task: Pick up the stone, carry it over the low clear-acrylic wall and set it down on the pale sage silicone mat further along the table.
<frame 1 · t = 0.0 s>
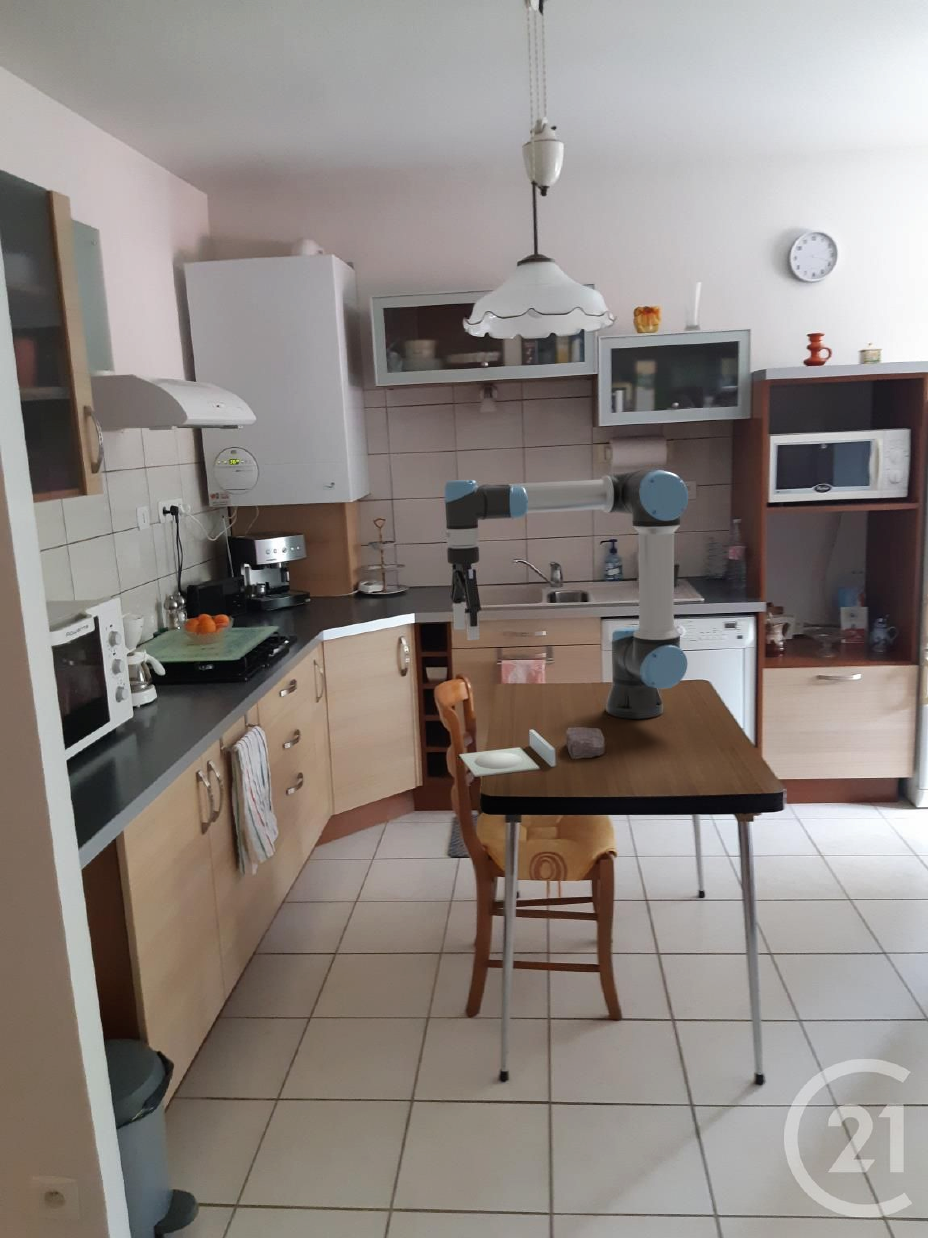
hand: (466, 634, 222), 28 cm above the table, fingers open, 13 cm apart
rest mat: (498, 762, 214), on the table
acrylic wall: (542, 755, 218), on the table
stone: (585, 752, 220), on the table
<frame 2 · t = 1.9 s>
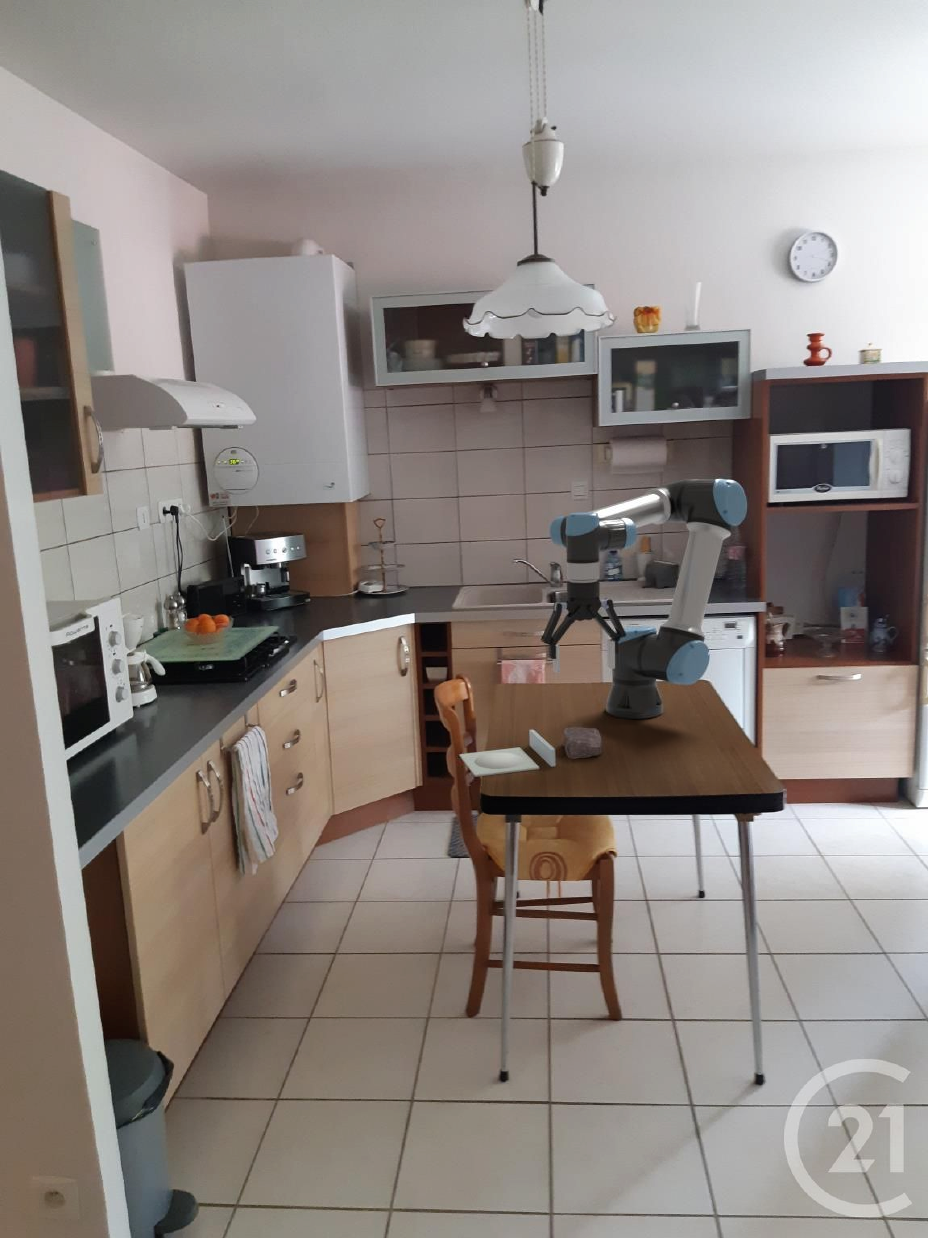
hand: (584, 670, 217), 20 cm above the table, fingers open, 13 cm apart
nothing on the table moved.
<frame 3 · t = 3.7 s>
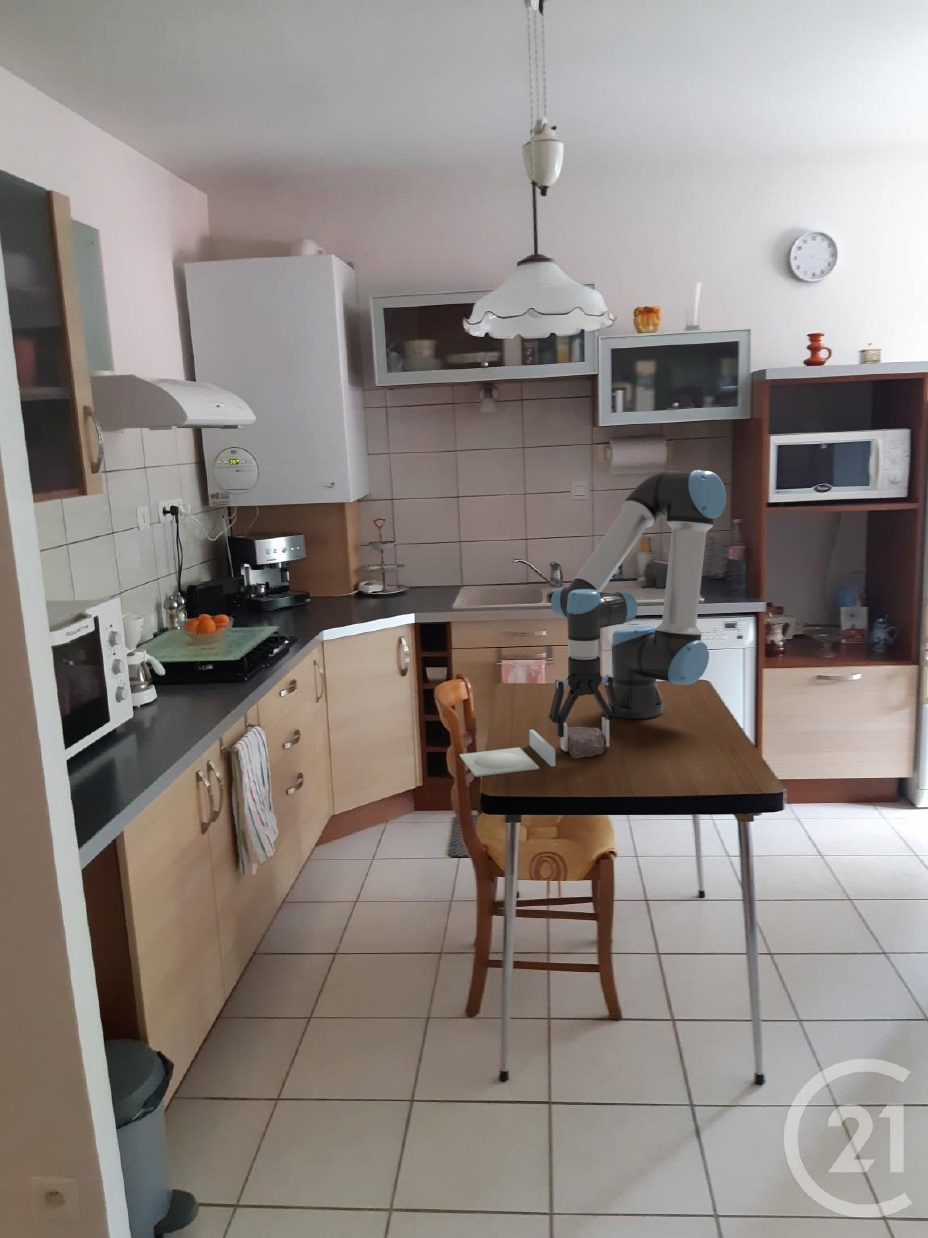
hand: (585, 747, 220), 1 cm above the table, fingers open, 10 cm apart
stone: (585, 751, 221), on the table, touching gripper
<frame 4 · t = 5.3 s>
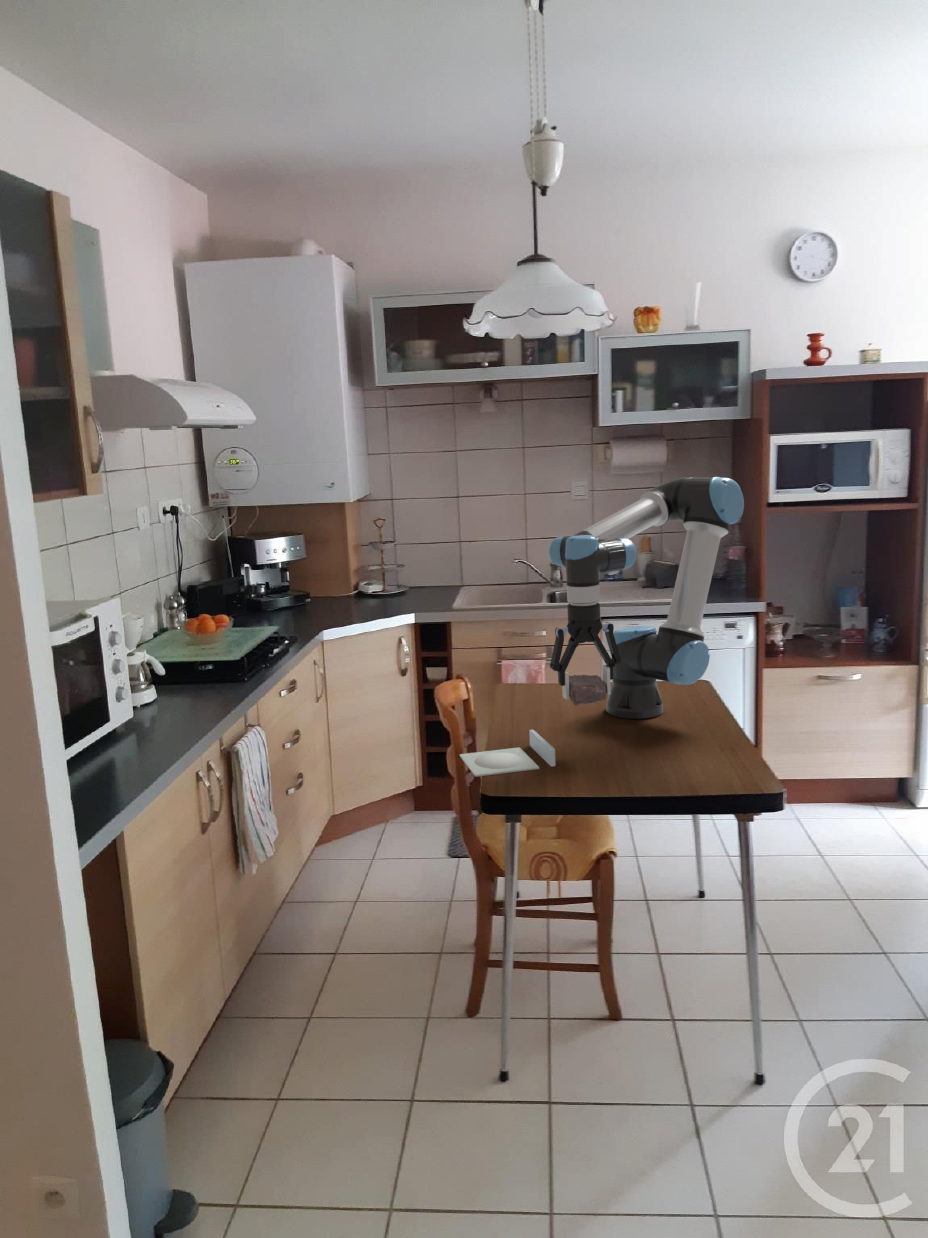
hand: (586, 695, 218), 13 cm above the table, fingers closed on stone, 9 cm apart
stone: (586, 698, 219), point 12 cm above the table, touching gripper
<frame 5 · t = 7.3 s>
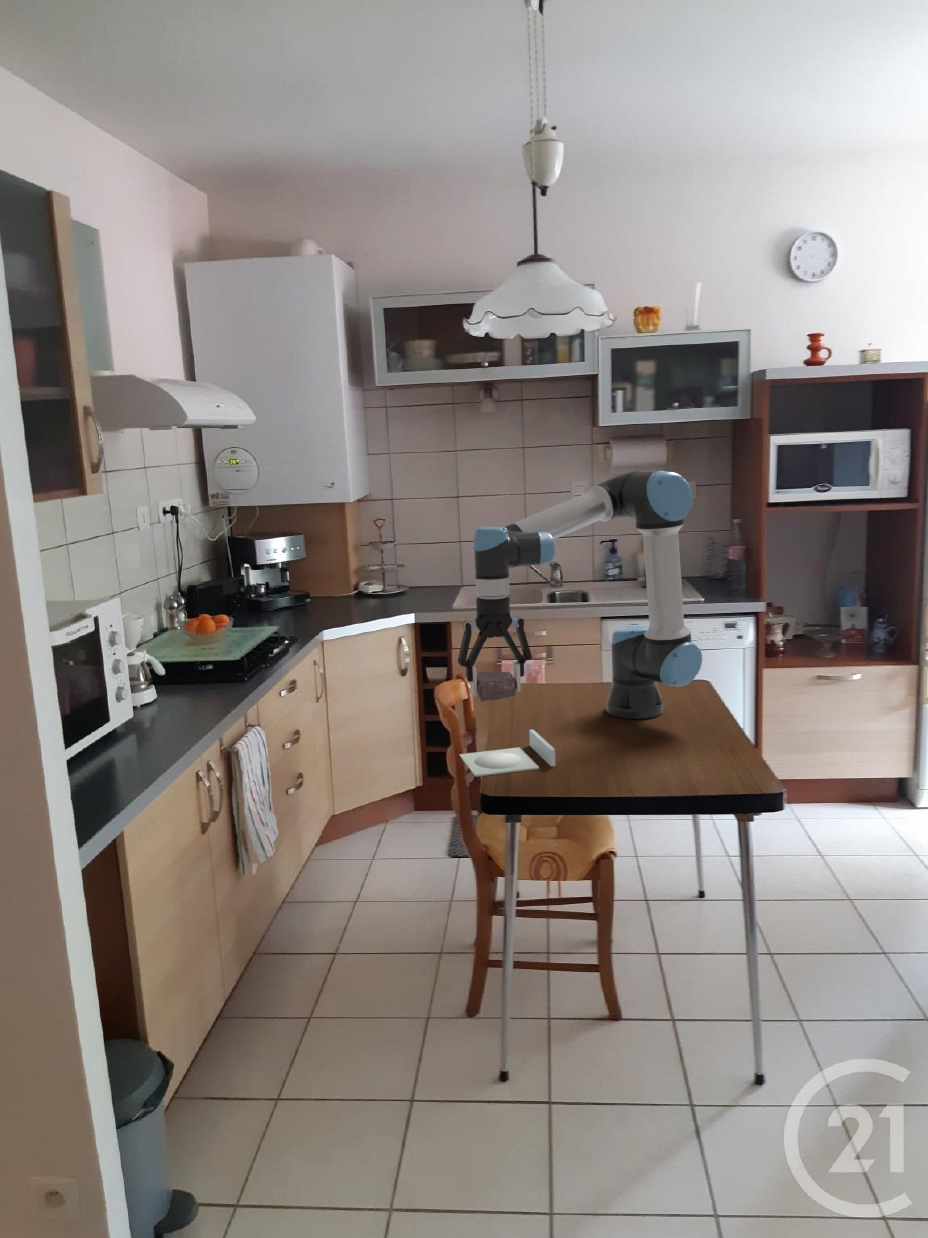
hand: (496, 692, 211), 17 cm above the table, fingers closed on stone, 9 cm apart
stone: (496, 695, 212), point 16 cm above the table, touching gripper
when the fingers open (3 cm above the table, at t = 10.2 s): stone drops 2 cm, resting on rest mat.
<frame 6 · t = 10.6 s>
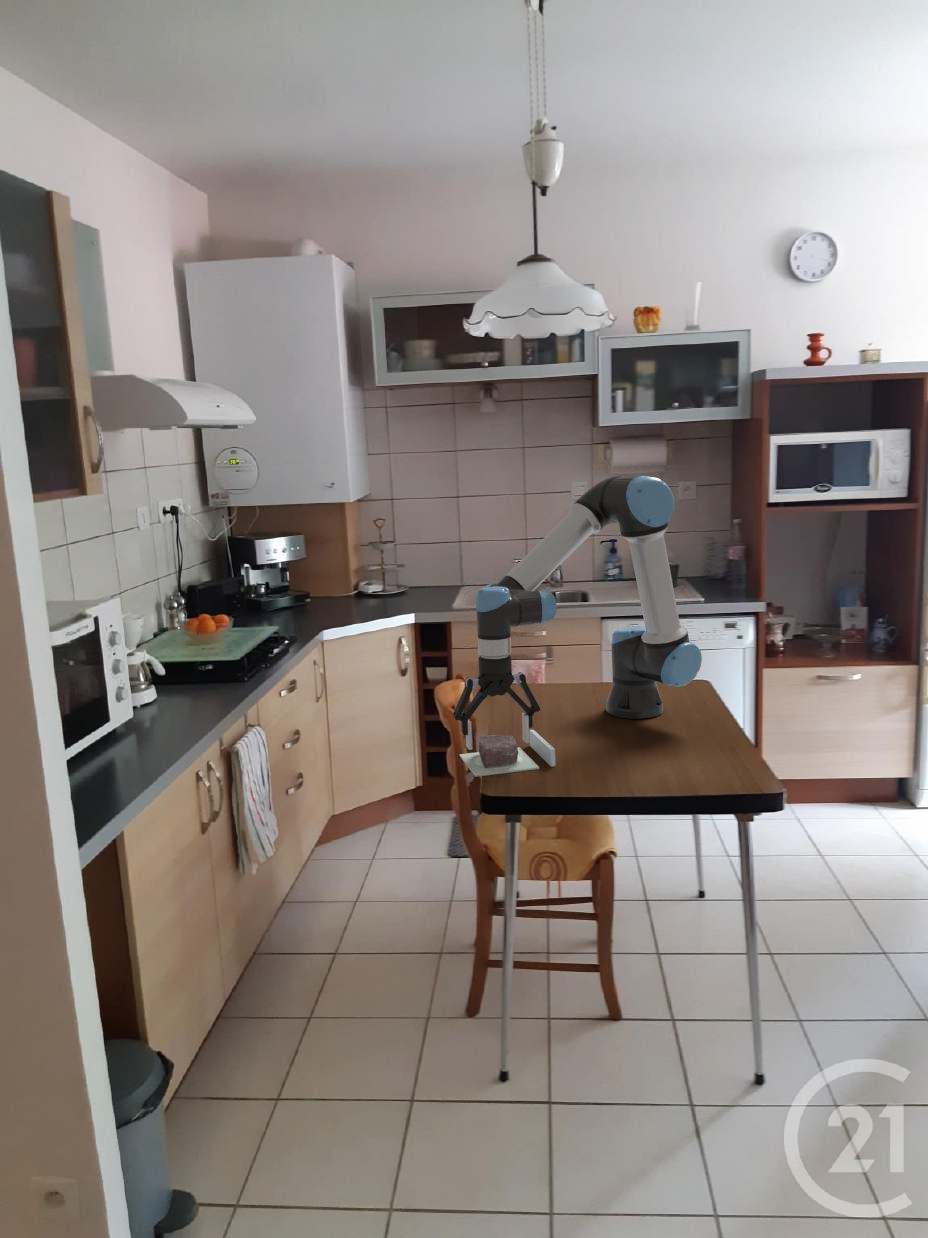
hand: (497, 745, 214), 4 cm above the table, fingers open, 13 cm apart
stone: (498, 760, 215), resting on rest mat
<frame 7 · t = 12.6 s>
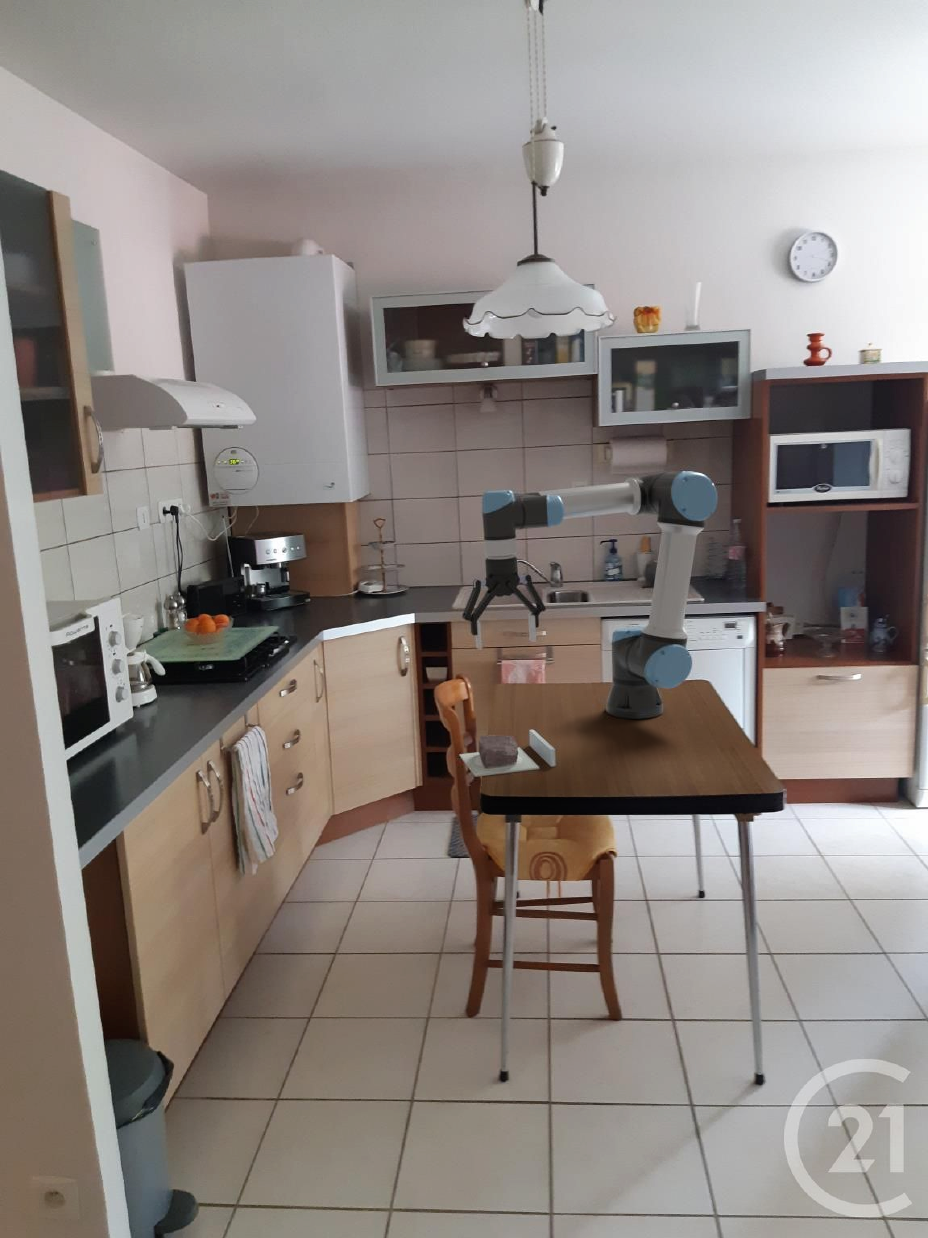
hand: (506, 644, 221), 25 cm above the table, fingers open, 13 cm apart
nothing on the table moved.
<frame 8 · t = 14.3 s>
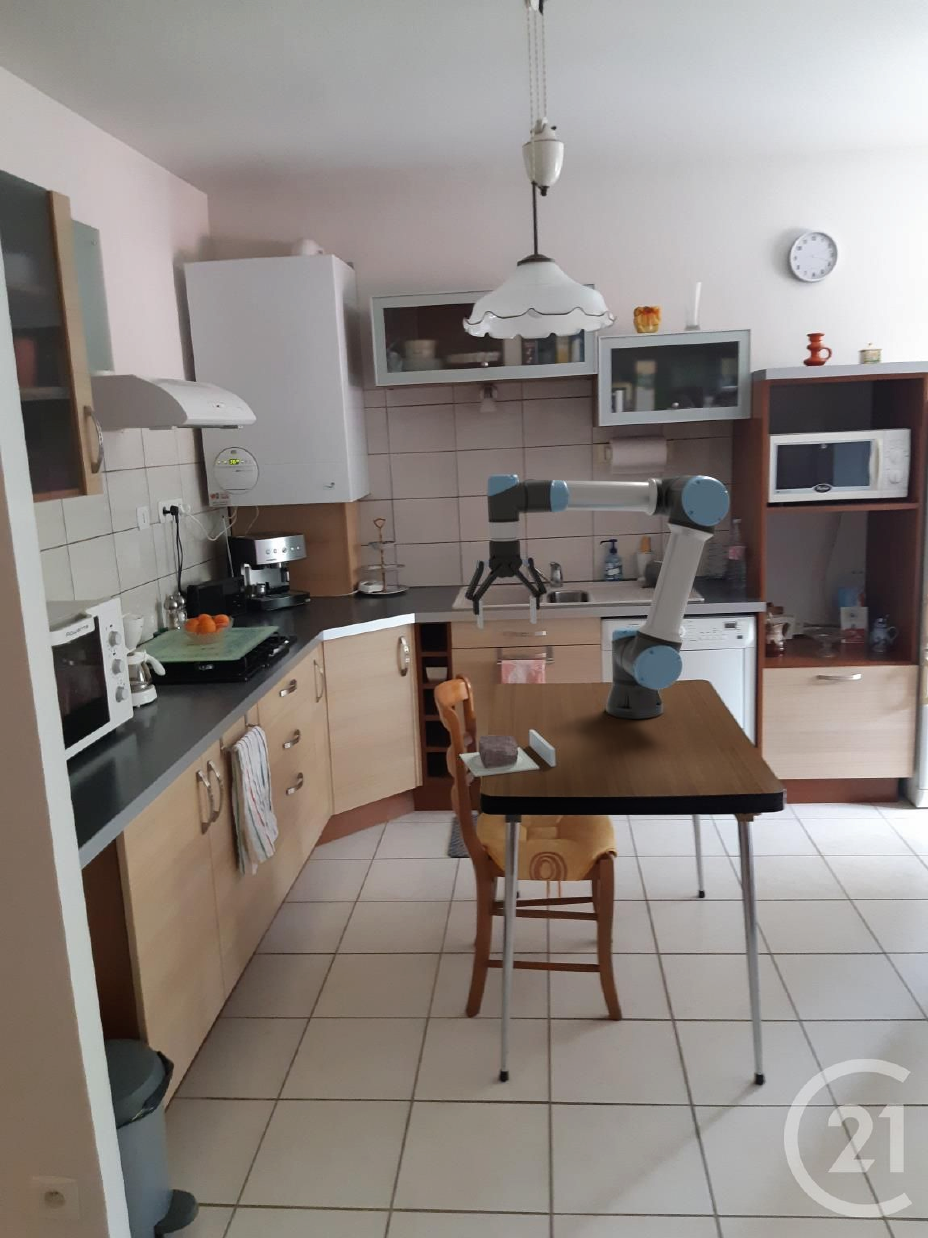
hand: (507, 625, 227), 29 cm above the table, fingers open, 13 cm apart
nothing on the table moved.
at the end: stone inside the target area on the rest mat (0.4 cm from its centre), point 0.3 cm above the rest mat's base; the gripper is holding nothing; stone moved 21.8 cm from its start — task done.
